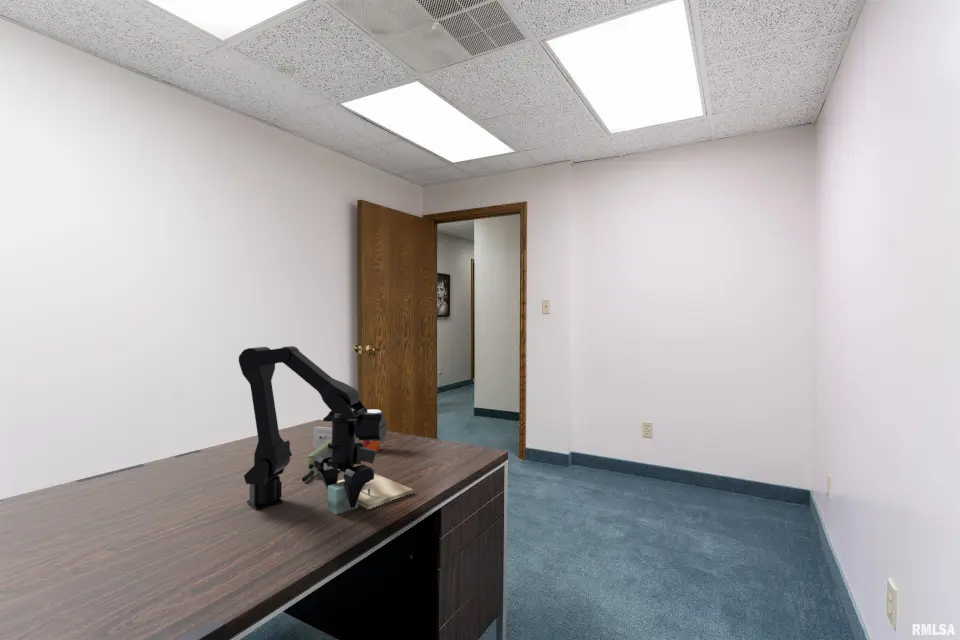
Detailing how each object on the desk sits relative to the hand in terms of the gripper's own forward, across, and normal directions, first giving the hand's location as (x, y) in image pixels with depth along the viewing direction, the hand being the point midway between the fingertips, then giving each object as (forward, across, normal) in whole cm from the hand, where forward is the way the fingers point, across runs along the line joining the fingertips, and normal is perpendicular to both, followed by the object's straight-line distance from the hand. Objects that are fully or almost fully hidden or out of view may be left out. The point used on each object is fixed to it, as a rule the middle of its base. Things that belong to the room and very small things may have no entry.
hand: (342, 502), depth 111 cm
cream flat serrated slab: (+2, +5, -11) cm, 12 cm away
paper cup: (+2, +37, -33) cm, 50 cm away
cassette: (+2, +49, -23) cm, 54 cm away
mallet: (+2, 0, -3) cm, 3 cm away
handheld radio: (+2, +31, -11) cm, 33 cm away
